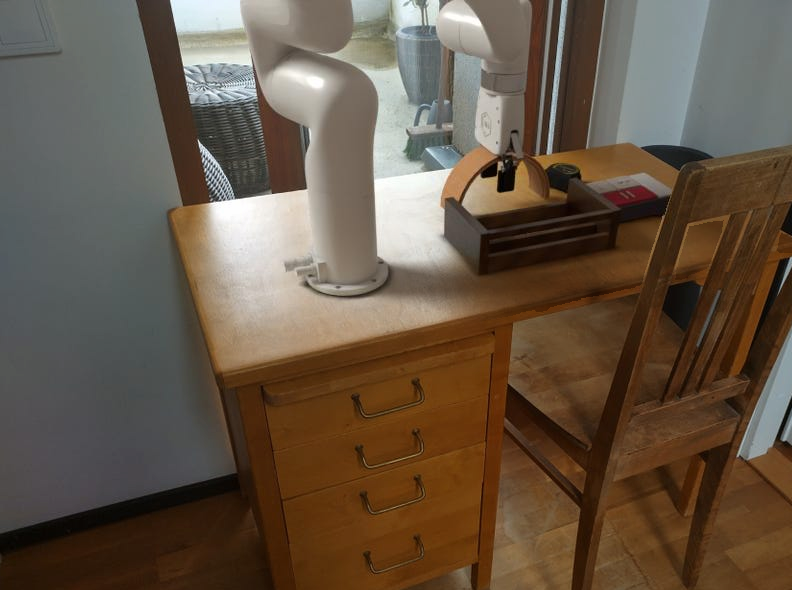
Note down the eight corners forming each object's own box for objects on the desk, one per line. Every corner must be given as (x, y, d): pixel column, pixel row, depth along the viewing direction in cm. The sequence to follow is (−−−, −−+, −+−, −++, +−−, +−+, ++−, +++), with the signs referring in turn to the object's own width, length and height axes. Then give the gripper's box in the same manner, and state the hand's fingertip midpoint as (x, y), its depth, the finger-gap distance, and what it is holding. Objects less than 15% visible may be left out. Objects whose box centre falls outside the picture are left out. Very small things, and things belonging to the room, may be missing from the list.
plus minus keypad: (578, 182, 134) (645, 168, 138) (576, 203, 136) (642, 189, 141) (610, 206, 126) (680, 190, 130) (607, 228, 128) (676, 212, 133)
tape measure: (537, 186, 141) (539, 167, 139) (558, 176, 145) (560, 158, 143) (565, 196, 137) (567, 178, 135) (586, 186, 141) (588, 168, 139)
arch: (550, 198, 132) (556, 145, 126) (455, 218, 124) (457, 163, 118) (532, 186, 136) (537, 134, 130) (439, 205, 128) (440, 151, 122)
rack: (478, 275, 112) (481, 234, 108) (443, 236, 122) (444, 198, 118) (615, 247, 121) (622, 209, 117) (571, 213, 131) (576, 177, 127)
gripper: (461, 68, 122) (458, 169, 133) (507, 97, 110) (499, 206, 120) (500, 64, 125) (494, 164, 135) (549, 93, 112) (538, 200, 123)
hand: (497, 183), depth 128 cm, fingers closed on arch, 5 cm apart
